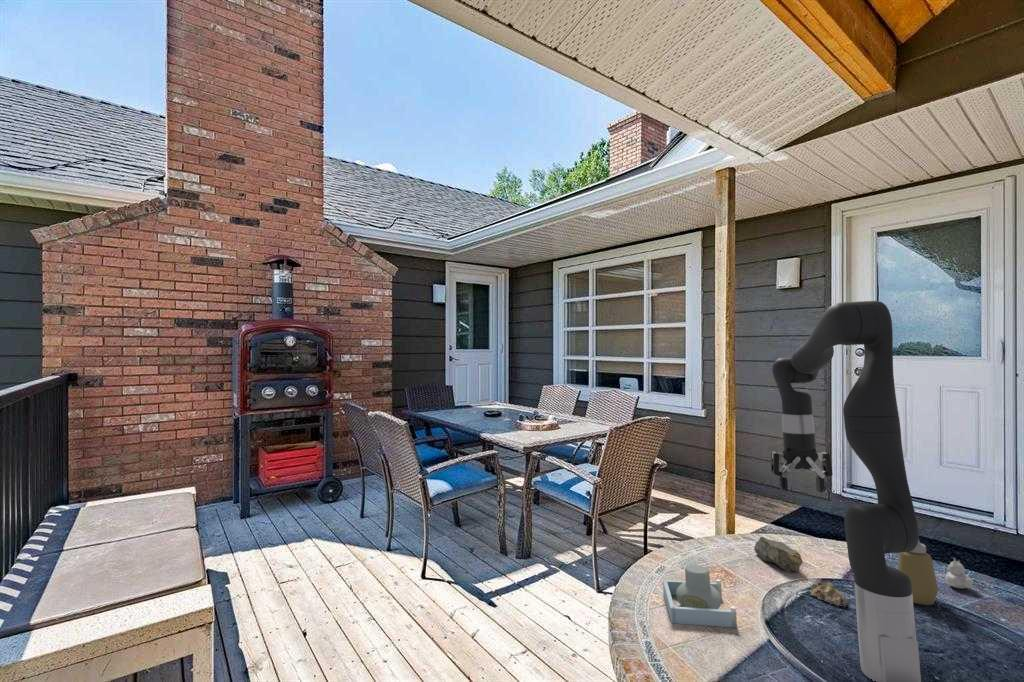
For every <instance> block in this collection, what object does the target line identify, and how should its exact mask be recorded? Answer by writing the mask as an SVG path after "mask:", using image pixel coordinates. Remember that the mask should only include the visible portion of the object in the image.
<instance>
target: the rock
mask: <svg viewBox="0 0 1024 682" xmlns="http://www.w3.org/2000/svg"><path fill="white" fill-rule="evenodd" d="M753 547H754V552H755V554H757V555H758V557H760V559H761V560H762V561H764V562H766V563H771V564H776V565H777V566H778V567H779V568H780V569H782V570H784V571H785V572H797V573H798V571H799V569H800V567H801V566H802V564H803V563H804V562H803V558H802V556H801V554H800V553H799V552H798V551H797V550H796V549H793V548H791V547H789V546H788V545H787V544H786V543H784V542H782V541H778V540H774V539H773V540H772V539H769V538H766V537H764V536H760V538H759V539H758V540H757V542H756V543H755V545H754V546H753Z"/></svg>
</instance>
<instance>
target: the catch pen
mask: <svg viewBox="0 0 1024 682" xmlns="http://www.w3.org/2000/svg"><path fill="white" fill-rule="evenodd" d="M684 582H686V580H675V579H674V580H673V579H662V590H663V591H662V593H663V596H664V600H665V604H666V607H667V611H668V614H669V619H670V623H671V624H681V625H696V626H707V627H708V626H709V627H720V628H721V627H722V628H724V627H725V628H735V629H736V628H738V624H737V620H738V619H737V608H736V606H733V605H732V606H730V609H720V608H719V609H706V608H691V607H683V606H675V604H674V600H673V598H672V596H676V591H677V588H678V587H679V586H680V585H681V584H682V583H684ZM710 585H711V586H713V587H714V588H715V589H716V590H717V591H718V592H719V594H720V596H721V599H722V598H723V597H722V596H723V595H722V594H723V593H722V581H721V579H719V578H718V579H716V580H715V582H712V581H710Z"/></svg>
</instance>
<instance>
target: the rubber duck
mask: <svg viewBox="0 0 1024 682" xmlns="http://www.w3.org/2000/svg"><path fill="white" fill-rule="evenodd" d="M947 568H948V571H947V572H946V573H945V581H946V583H947V584H948V585H949V586H950V587H952V588H956V589H957V590H958V589H960V590H961V589H962V590H963V589H972V588H973V582H974V579H972V578H971V577H970V576H968V575H967V574H965V572H966V570H965V567H964V565H963V564H962V563H961V562H960V561H959V560H956V558H955V557H953V561H951V562H950V563H949V565H948V566H947Z"/></svg>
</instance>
